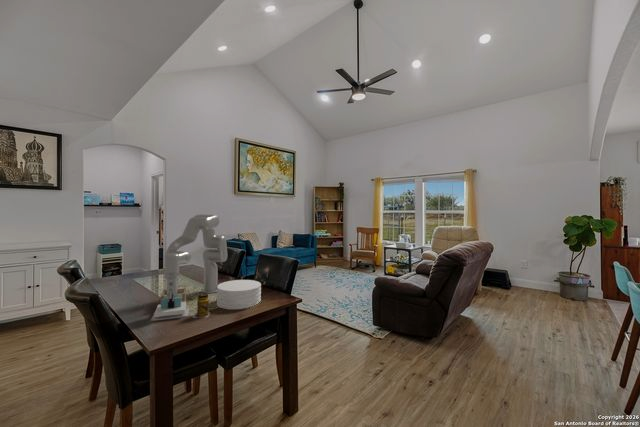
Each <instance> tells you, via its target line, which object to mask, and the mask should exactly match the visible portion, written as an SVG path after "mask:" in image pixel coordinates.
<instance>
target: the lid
mask: <svg viewBox="0 0 640 427" xmlns="http://www.w3.org/2000/svg"><path fill="white" fill-rule="evenodd" d="M160 301H161V304H160V303H159V304H157V307H156V308H155V311H154V313H153V315H154V317H160V316H169V315H177V314H185V309H186V308H187V301H186V302H181V297H174V308H168V298H162V299H161V298H160Z"/></svg>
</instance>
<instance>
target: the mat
mask: <svg viewBox="0 0 640 427" xmlns="http://www.w3.org/2000/svg"><path fill="white" fill-rule="evenodd" d="M189 312H190V308H189V307H186V309H185V314H177V315H169V316H160V317H154V314H153V315H152V317H151V318H150V321H151V322H153V321H154V322H155V321H164V320H172V319H180V318H188V317H189Z"/></svg>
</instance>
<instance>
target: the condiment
mask: <svg viewBox="0 0 640 427" xmlns="http://www.w3.org/2000/svg"><path fill="white" fill-rule="evenodd" d="M197 298H198V299H197V303H196V304H197V305H196V306H197V307H196V309H197V310H196V311H197V312H195V313H193V316H191V317H192V319H197V318H198V319H201V318H203V319H204V318H208V317H209V316H210V314H211V312H209V311H210V310H209V308H210V306H209V305H210V302H209V301H210V299H209V293H200V294H198V297H197Z"/></svg>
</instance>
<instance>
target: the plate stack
mask: <svg viewBox="0 0 640 427" xmlns="http://www.w3.org/2000/svg"><path fill="white" fill-rule="evenodd" d="M261 294H262V283H261V282H260V281H257V280H253V279H235V280H228V281H224V282H223V281H222V282H221V283H219V284H218V286H217V292H216V306H218V307H219V308H221V309H225V310H243V309H244V308H245V309H249V307H250V308H253V307H255V306H254V305H256V304H258V303H259V302H260V301H261V302H262V299H261V298H262V296H261ZM261 302H260V303H261ZM260 303H259V304H260ZM259 304H258V305H259ZM252 306H253V307H252ZM256 306H257V305H256Z"/></svg>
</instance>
